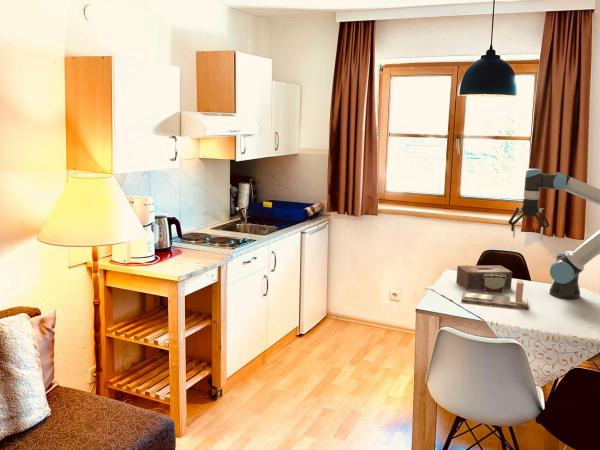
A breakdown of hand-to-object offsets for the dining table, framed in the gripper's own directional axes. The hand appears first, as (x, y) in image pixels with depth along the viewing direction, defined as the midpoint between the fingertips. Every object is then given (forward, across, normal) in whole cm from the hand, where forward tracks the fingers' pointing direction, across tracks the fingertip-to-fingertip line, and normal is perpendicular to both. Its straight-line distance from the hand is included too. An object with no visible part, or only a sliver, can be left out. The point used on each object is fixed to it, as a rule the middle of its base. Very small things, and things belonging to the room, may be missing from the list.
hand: (527, 238), depth 317 cm
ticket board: (+31, +14, +20) cm, 39 cm away
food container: (+31, +15, 0) cm, 34 cm away
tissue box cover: (+31, +20, -10) cm, 38 cm away
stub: (+29, +3, +20) cm, 35 cm away
